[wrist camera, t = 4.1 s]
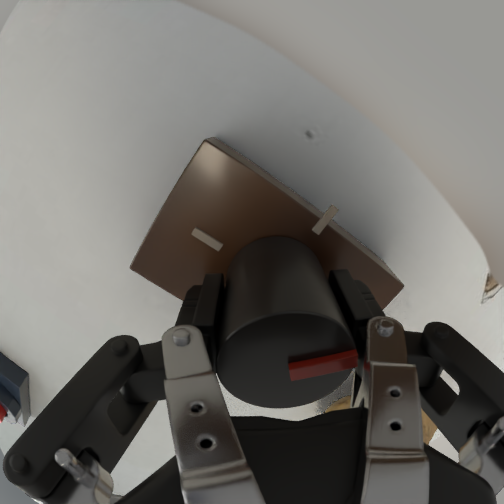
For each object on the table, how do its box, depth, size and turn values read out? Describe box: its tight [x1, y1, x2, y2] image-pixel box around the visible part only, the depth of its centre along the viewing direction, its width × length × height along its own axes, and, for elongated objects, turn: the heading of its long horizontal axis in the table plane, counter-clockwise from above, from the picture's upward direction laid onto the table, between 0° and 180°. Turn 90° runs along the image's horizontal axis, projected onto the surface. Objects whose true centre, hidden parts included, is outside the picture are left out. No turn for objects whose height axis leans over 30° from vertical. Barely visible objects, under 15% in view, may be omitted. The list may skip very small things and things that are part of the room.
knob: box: [215, 236, 358, 408], centre depth 11 cm, size 4×4×6 cm
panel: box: [130, 137, 404, 310], centre depth 15 cm, size 12×9×3 cm
